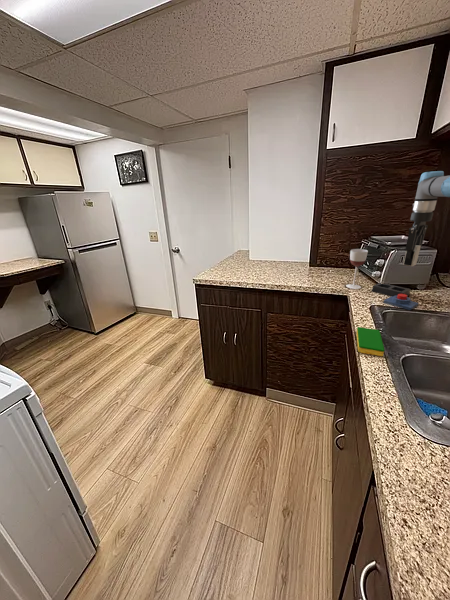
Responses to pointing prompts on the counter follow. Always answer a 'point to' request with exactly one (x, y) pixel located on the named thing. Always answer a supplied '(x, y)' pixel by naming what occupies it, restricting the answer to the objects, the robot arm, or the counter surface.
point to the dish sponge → (369, 341)
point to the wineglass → (357, 263)
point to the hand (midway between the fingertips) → (409, 263)
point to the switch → (402, 296)
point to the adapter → (390, 289)
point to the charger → (415, 257)
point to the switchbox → (401, 302)
